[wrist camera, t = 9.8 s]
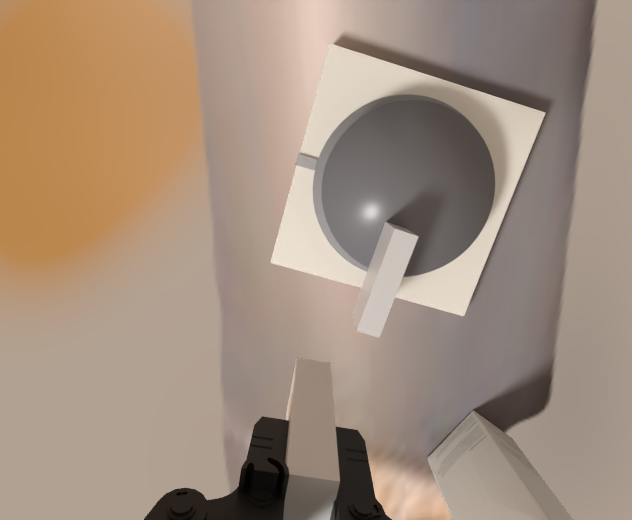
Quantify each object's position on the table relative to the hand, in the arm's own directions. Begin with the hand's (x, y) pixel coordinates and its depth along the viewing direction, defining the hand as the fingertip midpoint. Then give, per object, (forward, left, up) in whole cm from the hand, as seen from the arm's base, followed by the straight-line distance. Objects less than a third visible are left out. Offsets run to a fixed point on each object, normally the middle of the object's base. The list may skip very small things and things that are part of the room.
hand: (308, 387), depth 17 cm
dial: (-7, +6, -21) cm, 23 cm away
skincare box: (+16, +23, -23) cm, 36 cm away
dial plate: (-9, +6, -22) cm, 25 cm away
